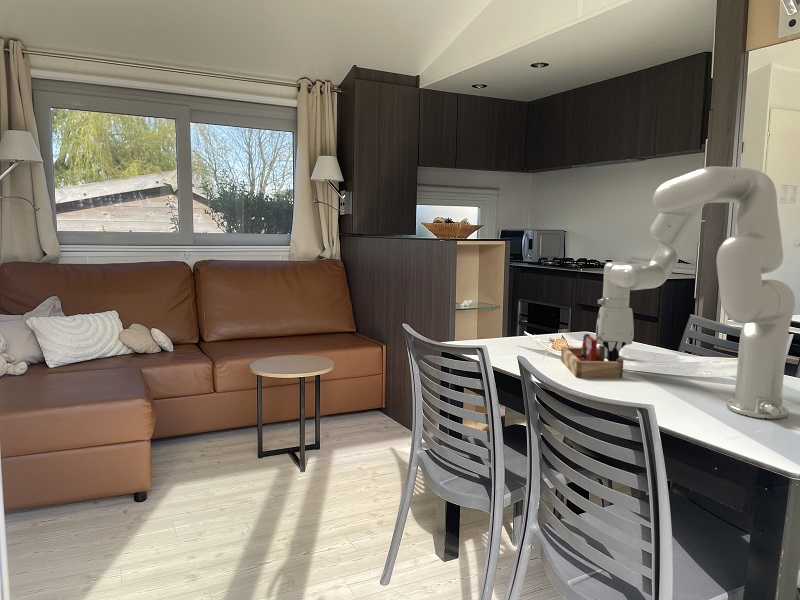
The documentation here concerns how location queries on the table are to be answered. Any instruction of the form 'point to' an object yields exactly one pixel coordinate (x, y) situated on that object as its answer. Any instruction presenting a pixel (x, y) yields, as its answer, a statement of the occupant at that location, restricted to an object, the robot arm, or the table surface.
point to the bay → (591, 364)
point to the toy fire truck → (589, 350)
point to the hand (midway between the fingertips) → (612, 362)
